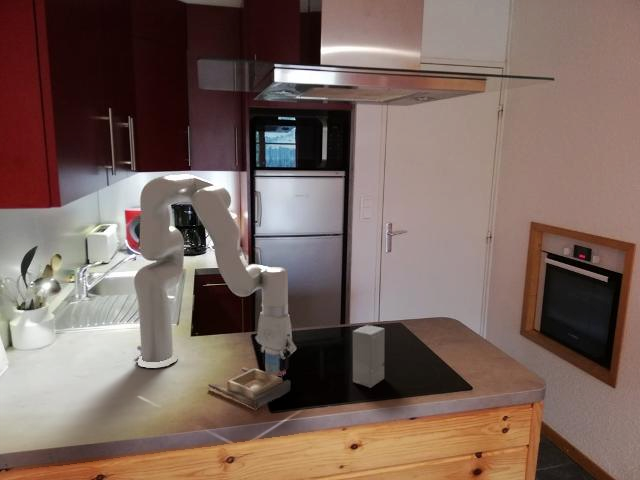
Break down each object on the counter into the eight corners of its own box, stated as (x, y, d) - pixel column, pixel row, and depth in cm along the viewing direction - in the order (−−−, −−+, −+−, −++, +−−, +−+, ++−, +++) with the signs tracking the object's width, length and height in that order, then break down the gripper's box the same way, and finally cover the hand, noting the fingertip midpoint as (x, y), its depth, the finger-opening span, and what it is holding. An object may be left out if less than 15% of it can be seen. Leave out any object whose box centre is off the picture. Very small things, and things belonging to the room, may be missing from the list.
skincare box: (370, 388, 145) (372, 336, 142) (349, 381, 149) (351, 330, 146) (385, 378, 151) (387, 327, 149) (365, 372, 156) (366, 322, 153)
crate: (227, 394, 140) (227, 380, 139) (254, 380, 148) (254, 368, 147) (255, 406, 133) (255, 392, 133) (282, 391, 142) (282, 378, 141)
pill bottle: (282, 379, 150) (282, 343, 148) (262, 377, 151) (262, 342, 149) (288, 371, 156) (287, 336, 154) (268, 369, 157) (268, 334, 155)
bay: (208, 392, 142) (208, 380, 141) (244, 375, 153) (244, 364, 152) (255, 412, 131) (254, 400, 131) (290, 392, 142) (290, 380, 142)
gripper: (245, 306, 152) (246, 363, 155) (289, 318, 142) (289, 379, 145) (262, 301, 158) (263, 355, 161) (305, 312, 148) (305, 370, 151)
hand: (275, 366), depth 153 cm, fingers closed on pill bottle, 6 cm apart
